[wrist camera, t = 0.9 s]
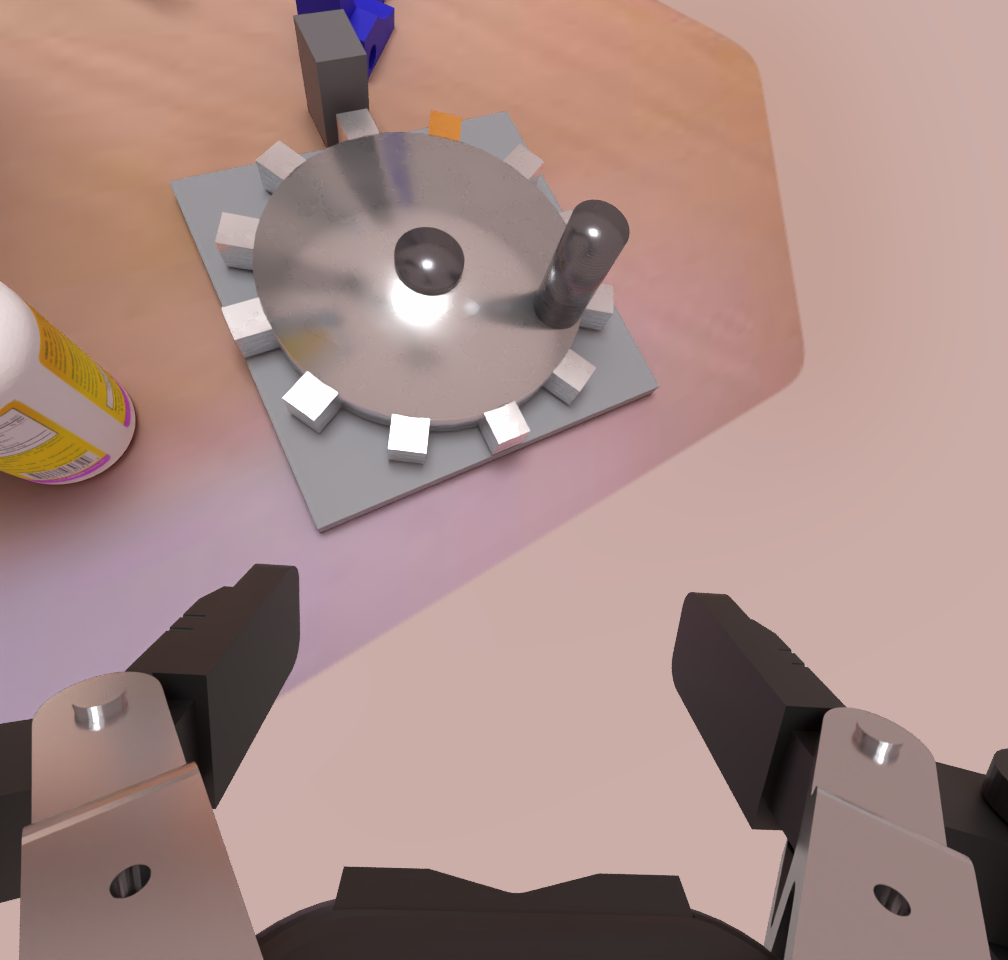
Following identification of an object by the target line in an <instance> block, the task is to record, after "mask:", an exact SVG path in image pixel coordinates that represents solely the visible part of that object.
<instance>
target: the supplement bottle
mask: <svg viewBox="0 0 1008 960" xmlns="http://www.w3.org/2000/svg"><path fill="white" fill-rule="evenodd" d="M134 429H135V411H134V407H133V404H132V401H131V399H130V397H129V395H128V394H127V392H126V391H125V389H124V388H123V387H122V386H121V385H120V384H119V383H118V382H117V381H116V380H115V379H114V378H113V377H112V376H111V375H110V374H108V373H107V372H106V371H105V370H104V369H103V368H102V367H100V366H99V365H98V364H97V363H96V362H95V361H94V360H92V359H91V358H90V357H89V356H88V355H87V354H85V353H84V352H83V351H82V350H81V349H80V348H78V347H77V346H76V345H75V344H74V343H73V342H71V341H70V340H69V339H68V338H67V337H66V336H64V335H63V334H62V333H61V332H60V331H59V330H58V329H56V328H55V327H54V326H53V325H52V324H51V323H49V322H48V321H47V320H46V319H45V318H44V317H43V316H41V315H40V314H39V313H38V312H37V311H36V310H35V309H33V308H32V307H31V306H30V305H29V304H28V303H27V302H25V301H24V300H23V299H22V298H21V297H20V296H19V295H17V294H16V293H15V292H14V291H12V290H11V289H10V288H9V287H7V286H6V285H5V284H3V283H2V282H0V471H3V472H5V473H8V474H11V475H13V476H16V477H19V478H22V479H25V480H28V481H32V482H36V483H42V484H69V483H74V482H79V481H82V480H85V479H88V478H91V477H93V476H95V475H97V474H99V473H101V472H103V471H104V470H106V469H107V468H109V467H110V466H111V465H113V464H114V463H115V462H116V461H117V460H118V459H119V458H120V457H121V456H122V454H123V453H124V452H125V450H126V449H127V447H128V445H129V444H130V441H131V439H132V436H133V433H134Z"/></svg>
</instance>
